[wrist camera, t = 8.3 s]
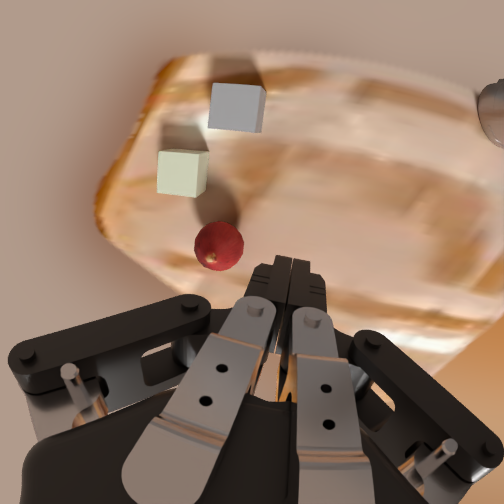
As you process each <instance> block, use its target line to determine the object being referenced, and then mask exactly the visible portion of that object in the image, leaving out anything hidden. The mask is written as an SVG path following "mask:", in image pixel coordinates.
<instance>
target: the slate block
mask: <svg viewBox="0 0 504 504" xmlns="http://www.w3.org/2000/svg"><path fill="white" fill-rule="evenodd" d="M265 100H266V91H265V90H264V89H263V88H262V87H261V86H254V85H242V84H227V83H213V87H212V95H211V103H210V111H209V120H208V128H212V129H224V130H234V131H244V132H252V133H261V130H262V122H263V115H264V107H265Z"/></svg>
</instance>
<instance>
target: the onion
mask: <svg viewBox="0 0 504 504" xmlns="http://www.w3.org/2000/svg"><path fill="white" fill-rule="evenodd" d="M243 247H244V241H243V238H242V235H241V234H240V232H239V231H238V230H237V229H236V228H235V227H234V226H232V225H230V224H229V223H226V222H221V221H217V222H213V223H209V224H207V225H206V226H205V227H203V228H202V229H201V230H200V232H199V233H198V235H197V237H196V239H195V246H194V251H195V254H196V257H197V259H198V261H199V262H200V263H201V264H202V265H203V266H204V267H206V268H209V269H211V270H216V271H223V270H227V269H230V268H231V267H232V266H234V265H235V264H236V263H237V262H238V261H239V259H240V258H241V256H242V254H243Z"/></svg>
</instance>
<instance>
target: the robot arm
mask: <svg viewBox="0 0 504 504" xmlns="http://www.w3.org/2000/svg"><path fill="white" fill-rule="evenodd" d="M478 112H479V118H480V122H481V125H482V128H483V130H484V132H485V134H486V135H487V137H488V138H489V139H490V140H491V141H492V142H493V143H494V144H495V145H496V146H498V147H501V148H504V79H499V81H498V82H497V83H494V84H490V85H487V86H486V87H485V88H484V89H483V90H482V92H481V94H480V97H479V103H478ZM291 264H292V268H291ZM290 271H291V273H290ZM325 289H326V287H325V281H324V279H323V278H322V277H321V275H319V274H314V273H310V261H305V260H300V259H295V258H294V259H293V263H292V258H290V257H285V256H280V255H276V257H275V260H274V264H273V265H268V264H263V263H261V264H260V265H258V266H257V267H255V269H254V271H253V274H252V276H251V279H250V282H249V284H248V287H247V289H246V292H245V294H244V297H243V298H240V299H239V300H237V302H236V303H235V305H234V307H233V308H229V309H211V305H210V303H209V301H208V300H207V299H205V298H203V297H201V296H198V295H194V294H184V295H179V296H176V297H173V298H169V299H166V300H163V301H160V302H156V303H153V304H150V305H147V306H143V307H140V308H136V309H133V310H130V311H127V312H123V313H120V314H116V315H113V316H110V317H106V318H103V319H100V320H96V321H93V322H89V323H86V324H82V325H79V326H75V327H72V328H69V329H65V330H61V331H58V332H54V333H51V334H47V335H44V336H40V337H36V338H33V339H29V340H25V341H22V342H20V343H18V344H17V345H16V346H14V347H13V349H12V350H11V351H10V353H9V356H8V364H9V367H10V368H11V370H12V372H13V374H14V376H15V378H16V379H17V381H18V384H19V386H20V388H21V390H22V392H23V393H24V395H25V396H26V400H27V404H28V408H29V412H30V416H31V420H32V423H33V427H34V430H35V434H36V437H37V440H38V443H37V444H35V445H34V446H33V447H32V448H31V450H30V451H29V452H28V454H27V456H26V458H25V460H24V463H23V468H22V491H21V498H20V504H458V503H459V502H460V501H461V499H462V498H463V497H464V495H465V494H466V493H467V491H468V490H469V489H470V487H471V486H472V485H473V484H475V483H476V482H477V481H479V480H480V479H481V478H483V477H484V476H486V475H487V474H488V473H490V472H491V471H492V470H493V469H495V468H496V467H497V466H499V465H500V463H501V462H502V460H503V457H504V448H503V444H502V442H501V440H500V439H499V437H498V436H497V435H496V434H494V433H493V432H492V431H491V430H490V429H489V428H488V427H487V426H486V425H485V424H484V423H483V422H481V421H480V420H479V419H478V418H477V417H476V416H475V415H474V414H473V413H471V412H470V411H469V410H468V409H467V408H466V407H465V406H464V405H463V404H461V403H460V402H459V401H458V400H457V399H456V398H455V397H454V396H453V395H451V394H450V393H449V392H448V391H447V390H446V389H445V388H443V387H442V386H441V385H440V384H439V383H438V382H437V381H436V380H434V379H433V378H432V377H431V376H430V375H429V374H428V373H427V372H425V371H424V370H423V369H422V368H421V367H420V366H419V365H417V364H416V363H415V362H414V361H413V360H412V359H411V358H409V357H408V356H407V355H406V354H405V353H404V352H402V351H401V350H400V349H399V348H398V347H397V346H395V345H394V344H393V343H392V342H391V341H390V340H388V339H387V338H386V337H385V336H384V335H382V334H380V333H378V332H376V331H372V330H361V331H358V332H357V333H356V334H355V335H354V337H351V336H349V335H346V334H344V333H342V332H340V331H338V330H336V329H335V328H334V327H333V322H332V319H331V317H330V316H329V315H328V314H327V304H326V290H325ZM279 329H280V330H279ZM278 333H279V335H278ZM277 337H278V341H277ZM276 341H277V347H276V352H275V354H281V359H280V363H279V366H278V370H277V383H276V397H275V402H268V401H265V400H263V399H260V398H258V397H256V396H254V393H255V390H256V387H257V384H258V382H259V379H260V376H261V373H262V370H263V366H264V363H265V362H266V360H267V357H268V353H269V352H270V353H274V349H275V345H276ZM170 342H171V347H169V348H166V349H164V350H161V351H158V352H156V353H153V354H150V355H147V356H145V357H142V355H143V354H144V353H145V352H146V351H148V350H151V349H153V348H156V347H159V346H161V345H164V344H167V343H170ZM141 357H142V358H141ZM374 382H375V383H376V384H377V385H378V386H379V387H380V388H381V389H382V390H383V391H384V392H385V393H386V394H387V395H388V396H389V397H390V398H391V399H392V400H393V401H394V404H395V411H393V410H392V409H391V408H390V407H389V406H388V405H387V404H386V403H385V402H384V401H383V400H382V399H381V398H380V397H379V396H378V395H377V394H376V393H375V392H374V391H373V390H372V389H371V386H372V384H373V383H374ZM177 385H178V387H177V388H175V389H170V388H172V387H174V386H177ZM167 389H170V390H167ZM165 390H166V391H165ZM148 397H149V398H148ZM143 399H144V400H143ZM141 400H142V401H141ZM138 401H140V402H138ZM135 402H137V403H135ZM133 403H135V404H133ZM131 404H133V405H131ZM128 405H131V406H128ZM125 406H128V407H126V408H123V409H121V410H119V411H116V412H114V413H111V414H109V415H108V413H109V412H112V411H114V410H117V409H120V408H122V407H125Z"/></svg>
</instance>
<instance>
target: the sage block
mask: <svg viewBox="0 0 504 504" xmlns="http://www.w3.org/2000/svg"><path fill="white" fill-rule="evenodd" d="M208 160H209V151H198V150H185V149H167V150H162V151H159V154H158V174H157V193H164V194H172V195H180V196H188V197H195V198H196V197H197V196H199V195H200V194H202V193H203V192H205V191H206V183H207V171H208Z"/></svg>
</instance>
